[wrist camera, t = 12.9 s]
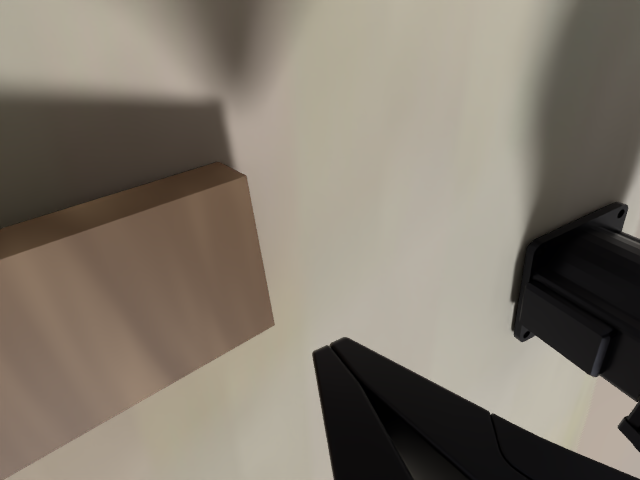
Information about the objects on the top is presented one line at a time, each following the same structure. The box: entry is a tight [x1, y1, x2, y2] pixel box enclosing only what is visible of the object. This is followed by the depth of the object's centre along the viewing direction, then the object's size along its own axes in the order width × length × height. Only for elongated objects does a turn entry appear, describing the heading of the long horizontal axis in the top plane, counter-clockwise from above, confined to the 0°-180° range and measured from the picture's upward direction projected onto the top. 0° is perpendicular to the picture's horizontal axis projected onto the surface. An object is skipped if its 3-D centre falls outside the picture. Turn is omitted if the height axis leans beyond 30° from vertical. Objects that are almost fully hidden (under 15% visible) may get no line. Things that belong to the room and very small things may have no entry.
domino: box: [0, 162, 275, 480], centre depth 10 cm, size 2×5×8 cm
